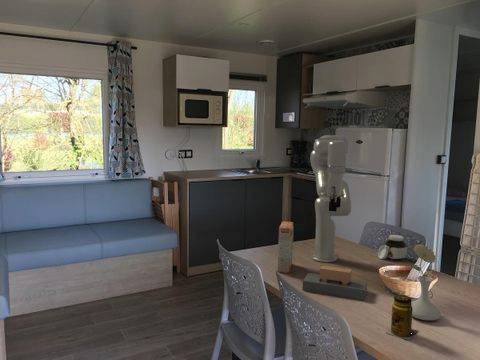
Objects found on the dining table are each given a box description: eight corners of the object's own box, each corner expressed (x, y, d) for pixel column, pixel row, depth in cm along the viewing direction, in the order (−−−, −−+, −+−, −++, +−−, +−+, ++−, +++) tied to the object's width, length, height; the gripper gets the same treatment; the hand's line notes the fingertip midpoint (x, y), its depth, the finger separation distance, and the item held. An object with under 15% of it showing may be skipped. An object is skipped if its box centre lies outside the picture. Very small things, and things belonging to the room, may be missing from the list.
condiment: (386, 333, 132) (388, 297, 131) (395, 324, 138) (397, 289, 137) (409, 341, 127) (411, 304, 126) (418, 331, 134) (420, 295, 132)
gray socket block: (308, 281, 176) (308, 272, 175) (366, 290, 167) (367, 281, 166) (302, 290, 167) (302, 280, 166) (364, 300, 157) (364, 290, 157)
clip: (320, 286, 171) (321, 265, 170) (350, 291, 166) (351, 269, 165) (318, 289, 167) (319, 268, 166) (349, 294, 163) (350, 272, 161)
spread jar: (408, 260, 207) (409, 237, 206) (394, 264, 201) (395, 240, 199) (387, 254, 217) (389, 232, 216) (374, 257, 211) (375, 235, 209)
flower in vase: (448, 322, 140) (453, 251, 137) (417, 324, 138) (422, 252, 135) (425, 306, 153) (429, 240, 150) (396, 308, 151) (400, 241, 148)
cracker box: (290, 273, 186) (291, 228, 183) (277, 272, 187) (278, 227, 184) (292, 263, 199) (294, 221, 197) (280, 262, 200) (281, 220, 198)
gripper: (331, 167, 186) (329, 205, 188) (323, 171, 170) (322, 212, 173) (348, 168, 183) (346, 206, 186) (341, 172, 168) (340, 213, 170)
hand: (334, 209), depth 179 cm, fingers open, 9 cm apart
